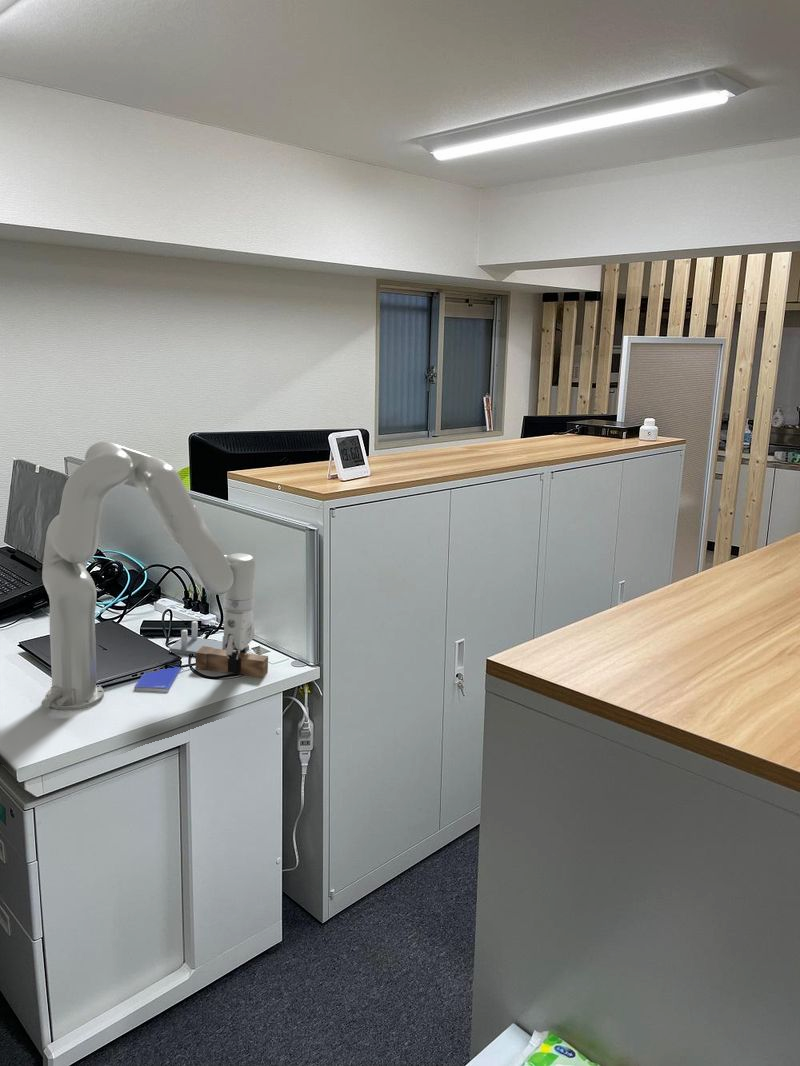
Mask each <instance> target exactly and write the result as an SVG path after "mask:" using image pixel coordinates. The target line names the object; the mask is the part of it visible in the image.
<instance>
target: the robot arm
mask: <svg viewBox="0 0 800 1066" xmlns="http://www.w3.org/2000/svg"><path fill="white" fill-rule="evenodd" d="M122 485H125V486H128V487H131V488H135V489H139V490H142V491H143V492H144V493H145V495H146V497H147V498H148V500H149V502H150V503H151V506H152V508H153V509H154V510H155V513H156V514H157V516H158V517H159V519H160V521H161V523H162V526H163V527H164V528H165V530H166V532H167V534H168V535H169V537H170V538H171V540H172V541H173V542H174V543H175V544H176V545H177V547H179V548H180V550H181V551H182V552H183V553H184V554H185V556H186V557H187V558H188V560H189V562H190V568H189V571H190V574H191V577H193V579H194V580H195V581H196V582H197V583H198V584H199V585H200V586H201V587H203V589H205V591H206V592H208V593H209V594H212V595H218V596H219V595H223V610H224V611H225V615H224V624H223V625H224V626H223V627H224V628H223V636H224V647H225V648H227V649H226V655H227V656H228V672H229V673H228V672H227V673H228V674H234V673H235V675H241V674H240V672H241V659H239V658H240V652H243V653H248V651H247V645H249V644H250V643H251V642H252V641H253V639H254V638H255V614H254V608H255V588H256V587H255V586H256V585H255V583H256V581H255V579H256V560H255V558H254V557H253V555H252V554H248V553H243V552H237V553H231V554H224V553H223V551H222V549H221V547H220V545H219V543H218V542H217V541H216V539H215V538H214V536H213V534H212V533H211V531H210V530H209V527H208V526H207V524H206V522H205V521H204V519H203V517H202V516H201V514H200V512H199V510H198V509H197V506H196V505H195V503H194V501H193V500H192V497H191V496H190V494H189V491H188V490H187V488H186V486H185V484H184V482H183V480H182V479H181V476H180V475H179V473H178V471H177V470H176V469H175V468H174V467H173V466H172V465H171V464H170V463H167V462H166V461H164V460H163V459H161V458H158V457H155V456H152V455H149V454H145V453H142V452H140V451H137V450H134V449H131V448H128V447H125V446H122V445H119V444H116V443H113V442H110V441H99V442H96V443H94V444H92V445H90V446H89V448H88V449H87V450H86V453H85V454H84V462H83V463H82V464H81V465H79V466H78V467H77V468H76V469H75V470H74V471H73V472H72V473H71V474H70V476H69V477H68V479H67V480H66V482H65V484H64V487H63V490H62V494H61V495H62V496H61V502H60V508H59V512H58V513H59V514H57V515H56V516H54V518H53V519H52V520H51V522H49V525H48V527H47V530H46V536H45V544H44V551H43V560H42V571H41V572H42V573H41V575H42V576H41V577H42V578H41V579H42V584H43V586H44V588H45V591H46V593H47V595H48V599H49V639H50V640H49V641H50V664H51V665H50V666H51V668H50V669H51V687H50V690H48V691H47V692H46V693H45V695H44V699H43V700H42V701H41V705H42V706H43V708H47V709H48V708H49V707H50V708H52V709H56V710H60V711H61V710H62V711H75V710H77V711H78V710H83V709H86V708H90V707H93V706H94V705H97V704H98V703H99V702H101V701H102V700H103V699H104V696H105V693H104V692H105V691H104V688H103V687H102V686H101V685H99V687H97V685H98V684H97V653H96V652H97V651H96V650H97V648H96V647H97V646H96V644H97V643H96V608H97V587H96V585H95V581H94V579H93V578H92V576H91V574H90V573H89V571H87V564H88V562H89V560H92V559H93V557H94V556H95V554H96V553H97V549H98V546H99V541H100V540H99V538H100V527H101V520H102V518H101V517H102V513H103V506H104V501H105V499H106V497H107V496H108V495H109V494H110V492H111V491H113V490H115V489H116V488H117V487H120V486H122ZM234 645H235V647H233V646H234ZM233 650H236V653H235V652H233ZM96 684H97V685H96Z"/></svg>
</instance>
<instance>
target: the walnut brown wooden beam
mask: <svg viewBox="0 0 800 1066" xmlns="http://www.w3.org/2000/svg"><path fill="white" fill-rule="evenodd" d="M233 652H235V653H236V651H233ZM239 659H241V672H240V673H241V674H244V675H243V676H250V677H256V678H264V677H265V676H266V675H267V673H269V655H263V654H256V653H249V652H247V653H243V652H240V658H239ZM195 669H196V670H203V671H207V670H208V671H215V672H221V673H227V674H230V673H229V672H228V656H227V655H226V650H222V649H215V648H213V647H206V646H202V647H201V648H200V649H199V650H198V651H197V652H196V656H195ZM241 674H240V675H241Z"/></svg>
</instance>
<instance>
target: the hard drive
mask: <svg viewBox="0 0 800 1066" xmlns="http://www.w3.org/2000/svg"><path fill="white" fill-rule="evenodd" d="M173 667H174V668H167V669H163V670H159V671H155V672H150V673H145V674H143V673H142V675H141V676H140V678H139V679H138V681H136V684H135V685H134V687H133V691H138V692H139V691H141V692H157V693H158V692H160V693H169V692H170V691H171V688H172V687H173V685H174V683H175V681H176V680H177V678H178V676H179V674H180V673H181V671H182V669H181V668H182V667H180V666H173Z"/></svg>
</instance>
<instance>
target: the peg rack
mask: <svg viewBox="0 0 800 1066" xmlns="http://www.w3.org/2000/svg"><path fill="white" fill-rule="evenodd" d="M198 623H199V622H198V621H196V620H194V621H191V636H188V630H187V629H182V630H180V635H181V637H180V638H179V639H178V640H177V641H176V642H175V643H173V644H172V645H171V646H169V649H168V651H171V652H173V653H174V654H180V655H185V656H190V655H189V654H190V653H191V654H193V657H196V652H197V651H198V650H199V649H200V648H201V647H202V646H206V647H213V648H215V649H222V650H226V649H227V648H225V647H224V635H223V636H222V640H215V639H208V638H202V637H201V638H200V637H198V636H199V635H198V632H199V631H198V627H199V624H198ZM233 647H235V645H234V646H233ZM249 650H250V645H249V644H248V645H247V652H249ZM233 651H236V650H233ZM171 652H170V653H171ZM173 653H172V654H173Z"/></svg>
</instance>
